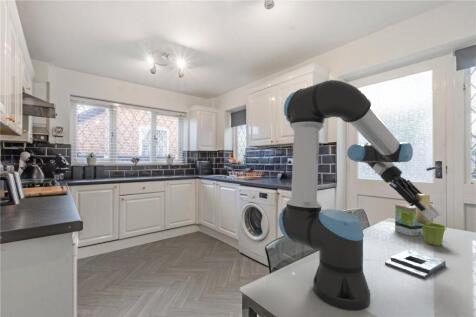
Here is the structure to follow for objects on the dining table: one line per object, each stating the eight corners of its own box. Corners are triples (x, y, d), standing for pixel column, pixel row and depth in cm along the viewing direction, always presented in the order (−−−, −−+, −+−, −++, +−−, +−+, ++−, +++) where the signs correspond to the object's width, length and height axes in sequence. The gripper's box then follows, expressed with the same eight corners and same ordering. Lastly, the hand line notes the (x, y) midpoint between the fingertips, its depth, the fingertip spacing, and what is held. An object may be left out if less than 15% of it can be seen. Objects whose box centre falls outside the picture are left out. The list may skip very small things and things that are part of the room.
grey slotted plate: (429, 275, 76) (429, 270, 76) (390, 262, 86) (390, 256, 86) (445, 266, 83) (445, 260, 83) (408, 254, 93) (408, 249, 93)
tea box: (412, 236, 115) (412, 208, 115) (394, 230, 124) (394, 204, 125) (434, 234, 119) (434, 206, 119) (414, 228, 128) (414, 203, 129)
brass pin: (426, 224, 84) (426, 195, 84) (414, 222, 88) (414, 194, 88) (431, 223, 86) (431, 195, 86) (418, 221, 90) (418, 193, 90)
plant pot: (452, 247, 101) (452, 227, 101) (431, 247, 101) (431, 227, 101) (434, 239, 110) (434, 222, 110) (415, 239, 111) (415, 222, 111)
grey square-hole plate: (424, 279, 74) (424, 276, 74) (385, 264, 84) (385, 261, 84) (441, 268, 81) (441, 265, 81) (403, 256, 91) (403, 254, 91)
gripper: (390, 176, 105) (435, 219, 90) (370, 177, 96) (416, 225, 82) (403, 165, 100) (453, 209, 86) (383, 164, 92) (434, 213, 77)
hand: (435, 216), depth 84 cm, fingers closed on brass pin, 4 cm apart
